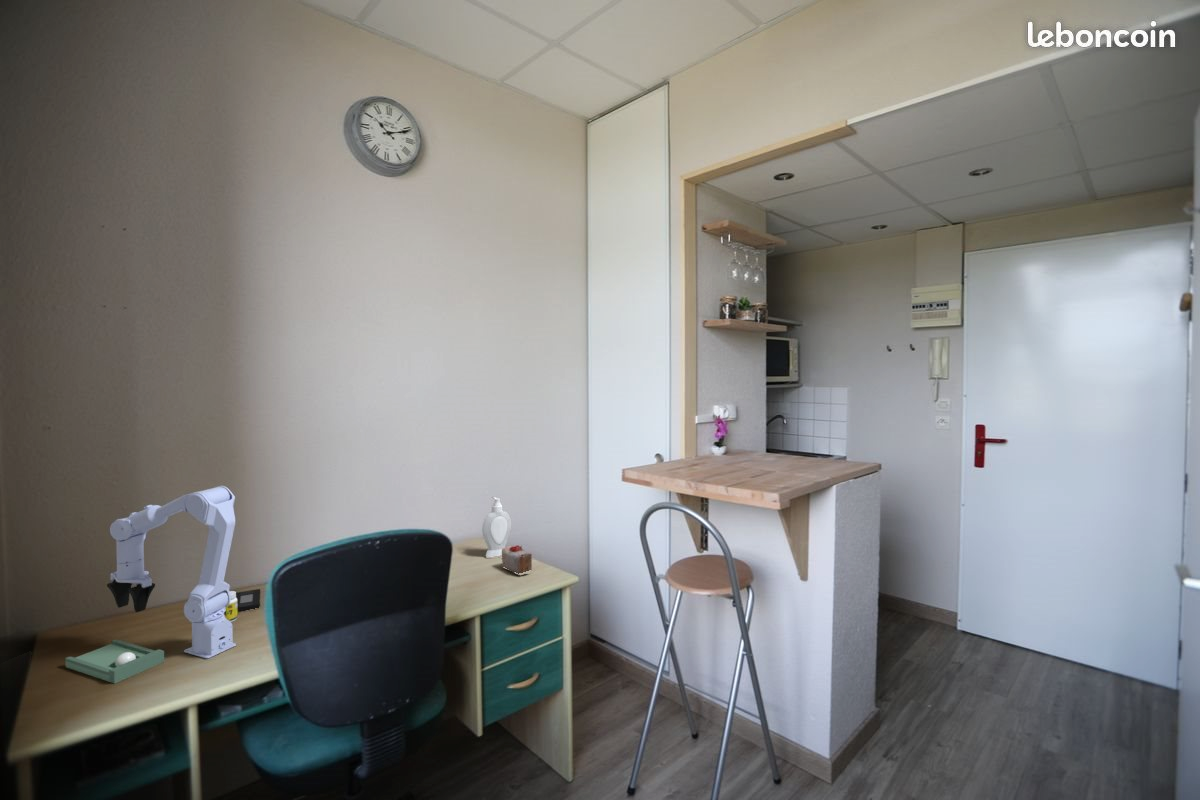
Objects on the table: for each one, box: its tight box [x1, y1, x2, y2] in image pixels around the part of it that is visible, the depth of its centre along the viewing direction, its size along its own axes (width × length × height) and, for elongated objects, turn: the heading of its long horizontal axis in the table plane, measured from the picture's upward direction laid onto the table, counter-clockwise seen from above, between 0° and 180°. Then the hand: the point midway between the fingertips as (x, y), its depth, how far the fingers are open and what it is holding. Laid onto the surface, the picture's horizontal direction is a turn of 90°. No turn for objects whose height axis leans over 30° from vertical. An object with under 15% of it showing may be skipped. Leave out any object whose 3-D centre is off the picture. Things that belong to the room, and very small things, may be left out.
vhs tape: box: [236, 588, 261, 613], centre depth 181 cm, size 8×14×2 cm, turn 31°
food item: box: [501, 544, 533, 574], centre depth 215 cm, size 14×8×10 cm, turn 42°
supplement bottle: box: [224, 590, 238, 623], centre depth 168 cm, size 5×5×8 cm
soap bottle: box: [481, 496, 512, 557], centre depth 232 cm, size 13×8×24 cm, turn 123°
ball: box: [115, 652, 136, 667], centre depth 140 cm, size 4×4×4 cm
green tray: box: [65, 638, 165, 684], centre depth 142 cm, size 20×11×3 cm, turn 69°
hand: (131, 608), depth 153 cm, fingers open, 7 cm apart
